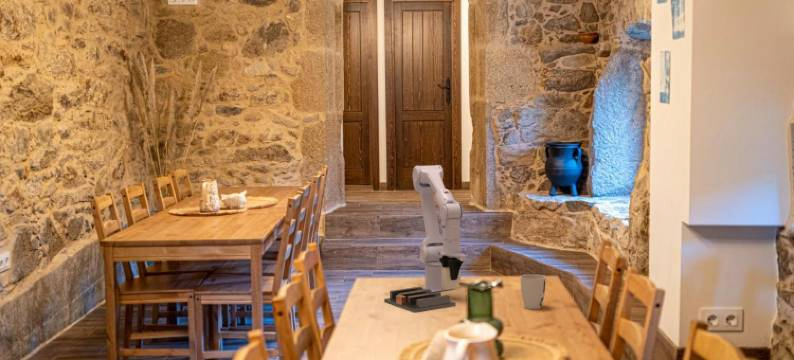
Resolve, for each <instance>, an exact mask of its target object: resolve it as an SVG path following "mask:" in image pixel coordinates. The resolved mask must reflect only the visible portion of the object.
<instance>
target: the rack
mask: <svg viewBox="0 0 794 360" xmlns="http://www.w3.org/2000/svg"><path fill="white" fill-rule="evenodd" d="M422 287H423V286H413V287H408V288H400V289H392V290H389V297H388V298H384V299H383V302H384V303H387V304H389V305H391V306H395V307H398V308H400V309H403V310H406V311H409V312H412V313H419V312H425V311H426V312H427V311H431V310H432V311H433V310H437V309H439V310H440V309H445V308H450V307H456V302H455V301H451V298H450V297H451V296H450V295H449V294H445V295H442V293H441V292H440V291H437V292H431V290H430V289H425V290H424V289H422Z"/></svg>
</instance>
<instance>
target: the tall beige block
mask: <svg viewBox="0 0 794 360" xmlns="http://www.w3.org/2000/svg"><path fill="white" fill-rule="evenodd" d="M461 271H462V270H461V268H460V270H459V274H458V278H457V280H451V277H450V268H449V267H444V268H442V289H445V290H444V291H448V290H447V289H450V290H455V289H458V288H461V286H458V283H459V282H461V281H462V280H461V277H462V276H461V275H462V274H461ZM461 283H462V282H461Z"/></svg>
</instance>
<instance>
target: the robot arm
mask: <svg viewBox="0 0 794 360" xmlns="http://www.w3.org/2000/svg"><path fill="white" fill-rule="evenodd" d="M443 179H444V169H443V167H442V165H440V164H437V165H415V166H414V168H413V170H412V181H413V188H414V191H416V192H418V194H419V195H418V196H419V199H420V206H421V212H422V218H423V223H424V225H423V226H424V231H425V238H424V239H423V240H422V241H421V242H420V244H419V258H420V261H421V263H422V264H424V281H425V282H424V285H423V286H421V287H422V290H425V289H430V290H431V293H433V292H442V291H449V290H451V289H447V290H445V289H442V268H444V267H449V268H450V277H451V280H457V278H458V274H459V270H460V268H461V267H462V265H463V264H464V262H466V261H467V260H468V256H467V254H466V253H465V254H464V253H463V252H461V220H462V219H463V217H464V216H463V215H464V209H463V205H462V203H461V202H459V201H456V200H455V198H454V196H453V195H452V192H451V191H450V190H449V189H447V188H446V186H445V184H444V181H443ZM434 193H435V194H434ZM435 201H436V202H435ZM436 203H437V206H438V208H439V209H440V210H439V215H440V220H441V221H440V222H441V226H442V236H441V234H440V227H439V223H438V222H439V220H438V216H437V209H436V208H437V207H436Z"/></svg>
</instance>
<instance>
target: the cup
mask: <svg viewBox="0 0 794 360" xmlns="http://www.w3.org/2000/svg"><path fill="white" fill-rule="evenodd" d="M546 280H547V277H546V276H545V275H543V274H538V273H537V274H535V273H534V274H530V273H529V274H522V275H520V290H521V298H522V301H523V305H524V308H525V309H528V310H540V309H541V308H542V306H543V304H544V303H543V302H544V298H545V293H546V283H547V281H546Z"/></svg>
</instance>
